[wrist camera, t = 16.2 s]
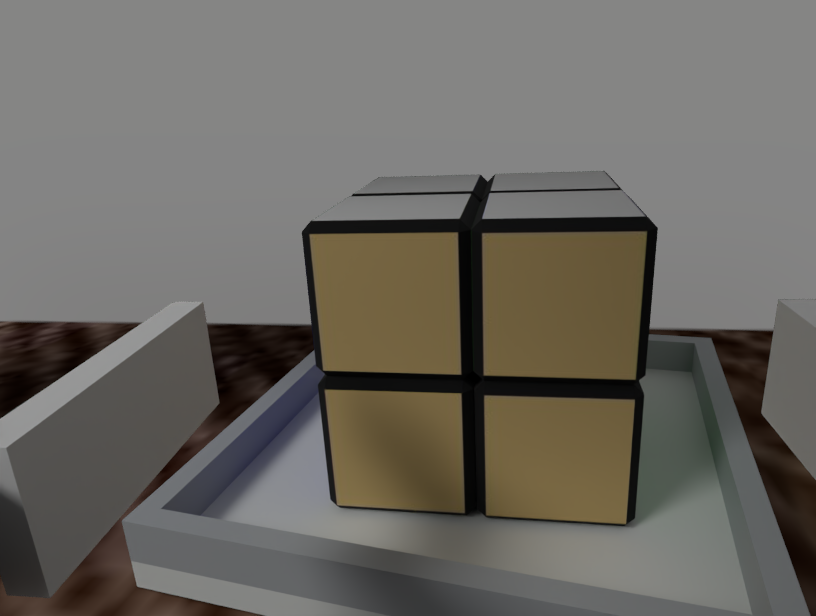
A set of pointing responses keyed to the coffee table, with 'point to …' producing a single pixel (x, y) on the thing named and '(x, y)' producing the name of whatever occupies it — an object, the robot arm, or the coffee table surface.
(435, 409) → the puzzle cube
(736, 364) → the coffee table surface
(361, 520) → the shallow square tray
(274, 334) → the coffee table surface
